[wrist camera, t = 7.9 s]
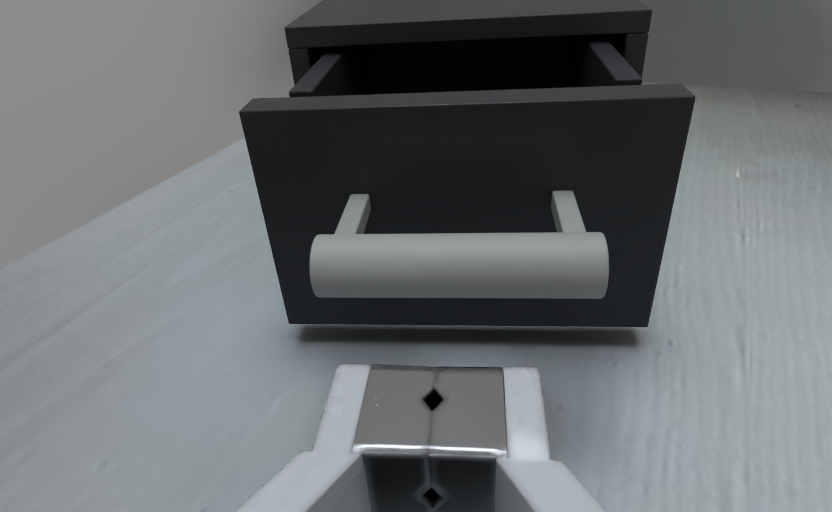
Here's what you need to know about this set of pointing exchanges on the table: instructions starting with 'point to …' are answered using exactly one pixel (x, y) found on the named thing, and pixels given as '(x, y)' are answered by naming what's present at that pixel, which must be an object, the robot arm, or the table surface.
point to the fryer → (464, 24)
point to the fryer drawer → (469, 183)
